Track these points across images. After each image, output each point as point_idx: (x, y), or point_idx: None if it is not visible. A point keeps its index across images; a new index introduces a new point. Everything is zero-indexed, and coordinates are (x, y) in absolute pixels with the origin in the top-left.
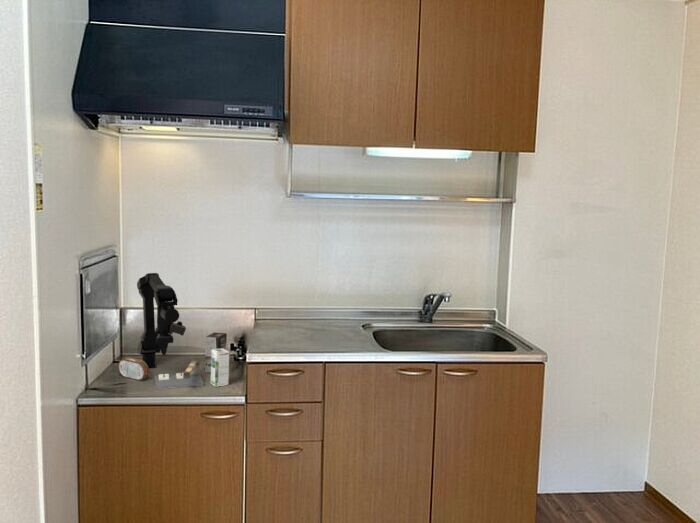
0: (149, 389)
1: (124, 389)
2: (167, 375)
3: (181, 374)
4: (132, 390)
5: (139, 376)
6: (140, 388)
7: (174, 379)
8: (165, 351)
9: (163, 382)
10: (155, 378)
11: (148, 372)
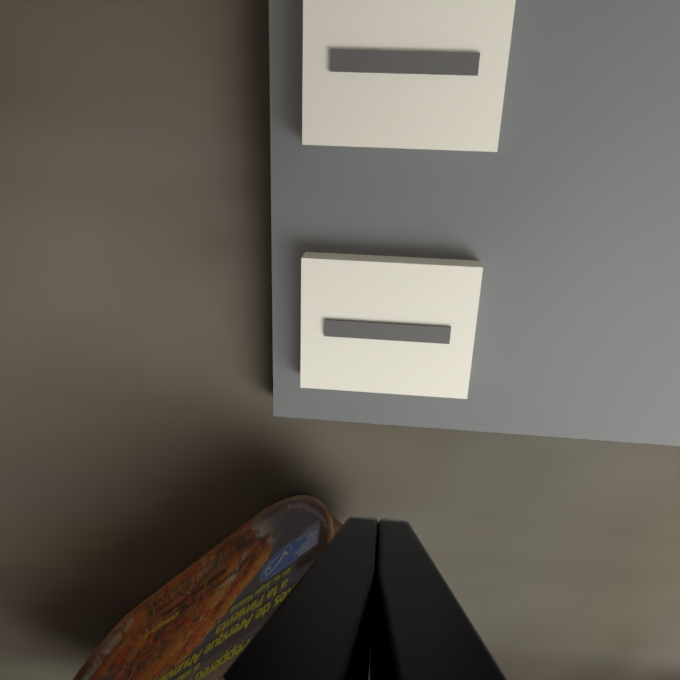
0: (661, 486)
1: (552, 675)
2: (381, 281)
3: (403, 60)
4: (615, 624)
5: None
6: (584, 558)
7: (515, 188)
8: (445, 610)
9: (591, 346)
10: (386, 419)
11: (332, 531)
